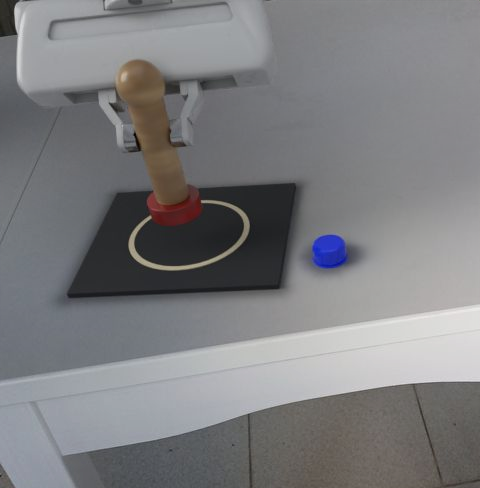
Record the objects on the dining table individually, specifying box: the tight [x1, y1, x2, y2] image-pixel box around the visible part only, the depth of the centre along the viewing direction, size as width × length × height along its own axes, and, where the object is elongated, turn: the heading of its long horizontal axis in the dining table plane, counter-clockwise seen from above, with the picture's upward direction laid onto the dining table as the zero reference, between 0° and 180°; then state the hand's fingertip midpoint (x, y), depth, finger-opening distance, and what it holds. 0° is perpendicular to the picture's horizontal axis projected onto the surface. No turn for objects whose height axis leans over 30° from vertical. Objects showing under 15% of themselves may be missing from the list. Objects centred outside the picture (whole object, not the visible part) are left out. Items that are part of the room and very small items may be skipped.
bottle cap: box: [311, 233, 348, 269], centre depth 62 cm, size 3×3×2 cm
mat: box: [66, 182, 297, 299], centre depth 66 cm, size 18×16×1 cm
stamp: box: [115, 59, 202, 226], centre depth 58 cm, size 4×4×13 cm
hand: (156, 147), depth 57 cm, fingers closed on stamp, 3 cm apart
